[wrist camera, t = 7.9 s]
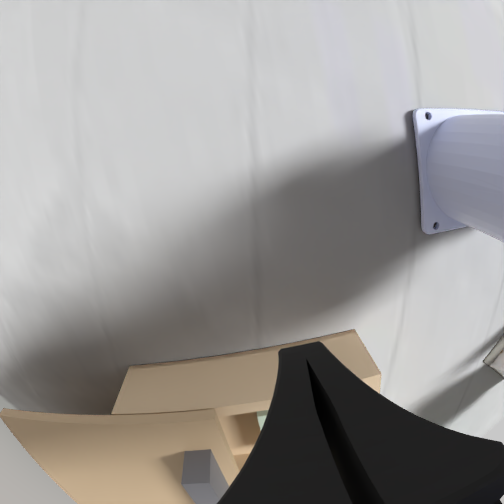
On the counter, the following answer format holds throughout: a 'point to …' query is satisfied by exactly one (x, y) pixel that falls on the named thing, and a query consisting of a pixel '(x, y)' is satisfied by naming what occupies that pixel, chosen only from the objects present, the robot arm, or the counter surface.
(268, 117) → the counter surface
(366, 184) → the counter surface
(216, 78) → the counter surface
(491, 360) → the skyscraper
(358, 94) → the counter surface
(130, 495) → the lid
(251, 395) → the box
